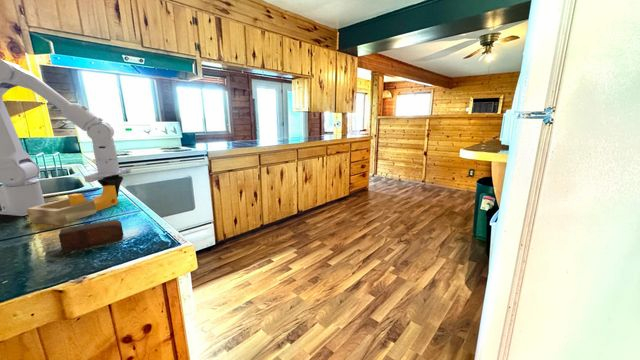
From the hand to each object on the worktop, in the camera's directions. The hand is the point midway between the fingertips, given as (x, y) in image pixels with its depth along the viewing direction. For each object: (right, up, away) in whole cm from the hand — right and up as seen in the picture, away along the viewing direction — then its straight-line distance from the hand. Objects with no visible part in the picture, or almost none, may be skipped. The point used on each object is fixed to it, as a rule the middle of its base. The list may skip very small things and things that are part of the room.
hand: (113, 197), depth 88 cm
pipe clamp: (0, -3, -8) cm, 8 cm away
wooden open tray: (-2, -5, -14) cm, 15 cm away
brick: (+20, -9, -29) cm, 36 cm away
